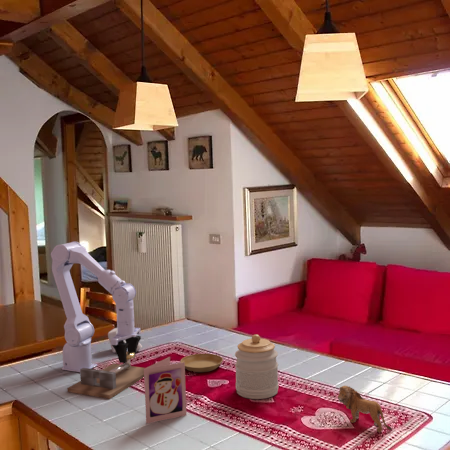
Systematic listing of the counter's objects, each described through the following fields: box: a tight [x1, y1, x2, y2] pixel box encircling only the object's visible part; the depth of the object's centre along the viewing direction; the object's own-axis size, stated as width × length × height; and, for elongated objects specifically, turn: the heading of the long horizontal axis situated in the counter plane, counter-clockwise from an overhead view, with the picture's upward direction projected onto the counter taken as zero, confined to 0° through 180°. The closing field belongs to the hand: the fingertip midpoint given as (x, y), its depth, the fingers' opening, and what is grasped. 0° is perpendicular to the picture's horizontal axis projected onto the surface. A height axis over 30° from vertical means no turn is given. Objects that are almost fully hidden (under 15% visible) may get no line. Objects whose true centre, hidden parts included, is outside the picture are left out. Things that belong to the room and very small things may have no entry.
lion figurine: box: [337, 385, 392, 433], centre depth 146 cm, size 15×5×9 cm, turn 51°
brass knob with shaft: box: [110, 350, 136, 374], centre depth 186 cm, size 5×13×5 cm, turn 155°
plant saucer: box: [179, 353, 224, 373], centre depth 194 cm, size 15×15×3 cm
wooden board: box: [66, 363, 146, 400], centre depth 181 cm, size 16×24×6 cm, turn 155°
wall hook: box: [107, 327, 143, 354], centre depth 213 cm, size 8×10×10 cm
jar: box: [234, 334, 279, 400], centre depth 169 cm, size 13×13×18 cm
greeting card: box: [143, 356, 187, 424], centre depth 154 cm, size 11×7×15 cm, turn 114°
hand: (127, 359), depth 189 cm, fingers closed on brass knob with shaft, 5 cm apart
